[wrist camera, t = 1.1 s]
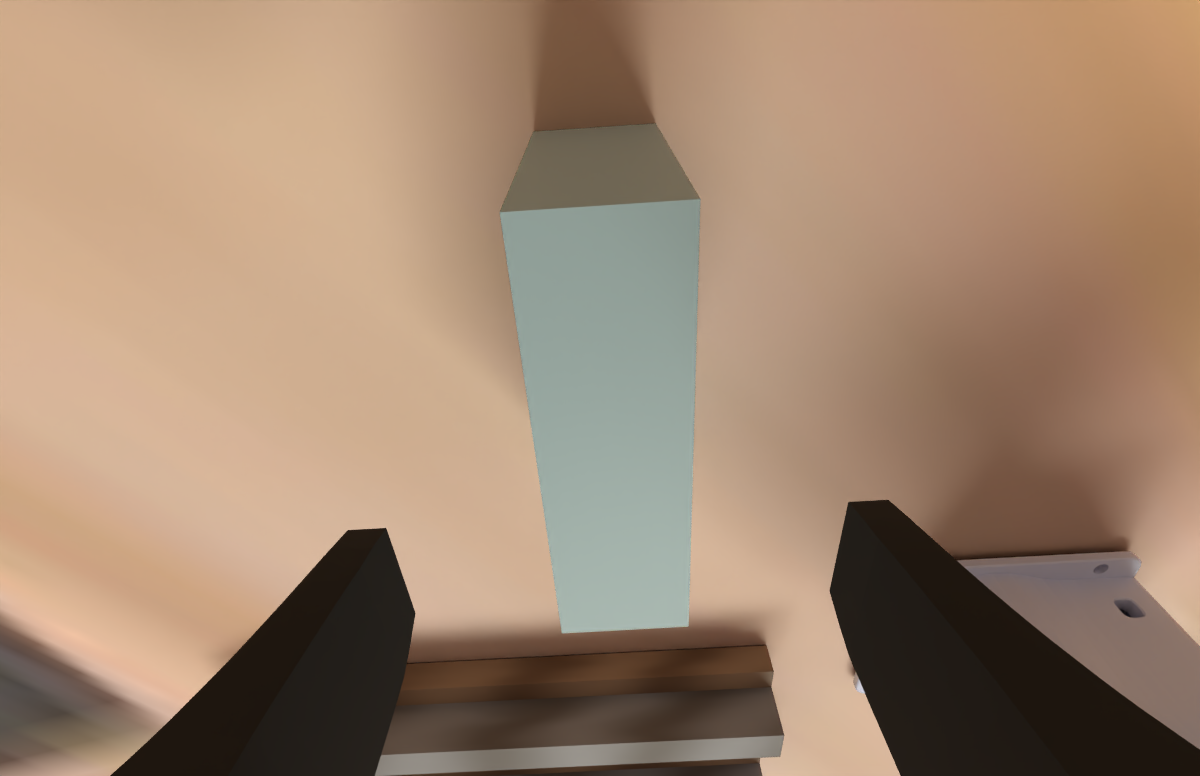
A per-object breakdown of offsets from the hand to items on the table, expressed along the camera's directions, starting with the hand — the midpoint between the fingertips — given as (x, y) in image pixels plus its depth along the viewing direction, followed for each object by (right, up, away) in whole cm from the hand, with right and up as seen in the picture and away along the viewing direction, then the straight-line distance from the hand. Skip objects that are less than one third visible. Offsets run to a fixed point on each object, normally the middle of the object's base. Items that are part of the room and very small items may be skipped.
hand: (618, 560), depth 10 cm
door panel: (0, +5, +8) cm, 9 cm away
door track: (-4, -13, +19) cm, 23 cm away
